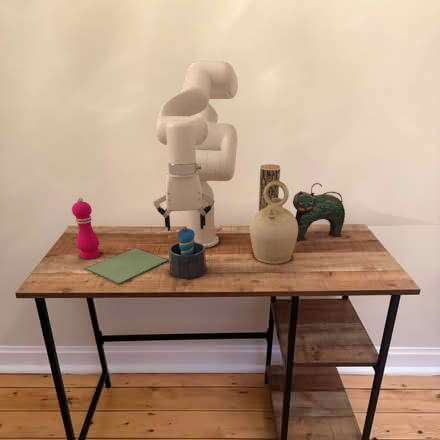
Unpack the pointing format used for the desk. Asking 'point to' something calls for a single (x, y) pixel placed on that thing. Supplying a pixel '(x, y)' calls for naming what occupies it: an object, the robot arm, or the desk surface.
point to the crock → (187, 262)
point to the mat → (127, 265)
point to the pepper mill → (85, 230)
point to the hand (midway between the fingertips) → (185, 228)
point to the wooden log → (267, 176)
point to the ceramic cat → (318, 211)
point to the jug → (274, 229)
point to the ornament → (186, 241)
